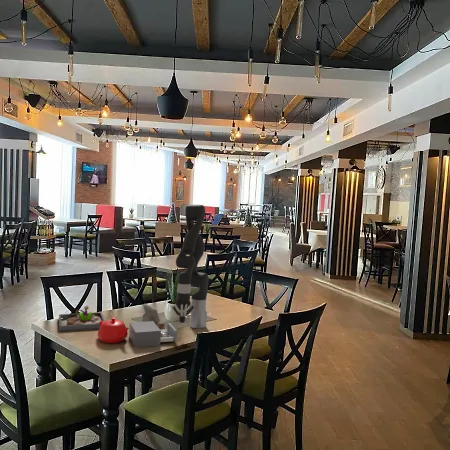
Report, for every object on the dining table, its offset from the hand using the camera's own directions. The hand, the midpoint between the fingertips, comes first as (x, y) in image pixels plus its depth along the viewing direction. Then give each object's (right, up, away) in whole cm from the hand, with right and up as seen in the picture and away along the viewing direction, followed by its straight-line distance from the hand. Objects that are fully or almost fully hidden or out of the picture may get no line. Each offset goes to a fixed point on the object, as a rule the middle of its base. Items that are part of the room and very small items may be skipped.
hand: (182, 322), depth 232 cm
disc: (-10, -7, -3) cm, 12 cm away
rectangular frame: (-62, -5, +17) cm, 64 cm away
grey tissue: (-22, -7, +27) cm, 35 cm away
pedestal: (-13, -8, +10) cm, 19 cm away
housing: (-20, -8, -7) cm, 23 cm away
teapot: (-36, -8, -9) cm, 38 cm away
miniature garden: (-60, -6, +19) cm, 63 cm away
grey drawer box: (-11, -7, -4) cm, 14 cm away
